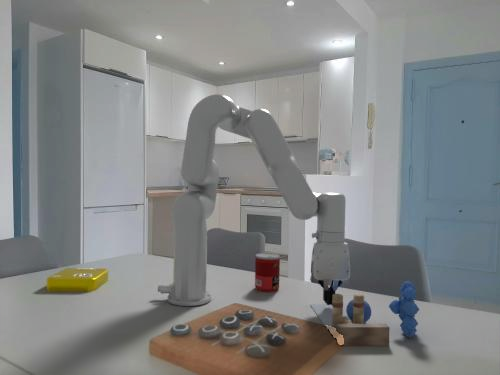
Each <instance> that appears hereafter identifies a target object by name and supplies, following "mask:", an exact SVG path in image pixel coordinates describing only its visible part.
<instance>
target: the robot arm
mask: <svg viewBox="0 0 500 375" xmlns="http://www.w3.org/2000/svg"><path fill="white" fill-rule="evenodd" d="M189 114H190V115H189V118H188V121H187V127H186V128H187V129H186V134H185V135H186V136H185V142H184V148H183V155H182V156H183V157H182V162H181V169H180V174H181V178H182V180H183V182H184V183H185V184H187V191H184V192H181V193H180V194H179V195H178V196H177V197H176V198H175V199H174V202H173V204H172V210H171V213H172V214H171V216H172V224H173V275H172V276H173V280H172V283H170V284H168V285H164V284H158V286H157V292H158V293H160V294H168V295H167V302H168V303H170V304H171V305H175V306H179V307H181V306H182V307H194V306H200V305H205V304H208V303H209V302H211V300H212V295H211V293H209V292H208V291H207V273H208V272H207V268H208V267H207V265H208V264H207V263H208V262H207V261H208V259H207V258H208V229H207V228H208V227H207V219H209V218H210V217H211V216H212V215H213V213H214V211H215V208H216V200H217V193H218V186H219V180H220V178H219V177H220V171H219V170H220V169H219V166H218V164H217V162H216V161H215V160H214V154H215V145H216V132H217V129H218V128H219V129H221V130H223V131H226V132H228V133H231V134H235V135H238V136H240V137H242V138H243V137H244V138H247V139H249V140H251V141H252V144H253V145H254V147H255V149H256V151H257V152H258V154H259V156H260V158H261V160H262V162H263V164H264V166H265V169H267V172H268V174H269V176H271V178H272V180H273V181H274V183H275V185H276V187H277V189H278V191H279V192H280V195H281V197H282V199H283V200H284V202H285V204H286V206H287V208H288V210H289V212H290V214H291V215H292V216H293V217H294V218H296V219H297V220H300V221H307V220H310V219H312V218H313V217H316V218H317V221H316V223H317V224H316V226H317V227H316V231H315V232H312V233H311V238H312V239H315V240H316V241H314V243H313V246H312V251H311V262H310V274H311V275H310V279H309V281H310V282H311V283H313V284H318V285H319V286H320V287H322V289H323V290H322V291H323V293H322V300H323V302H324V303H325V304H327V305H332V300H333V294H336V291H337V290H338V289H339V287H340V286H341V285H344V284H347V283H349V282H350V277H351V261H350V259H351V257H350V249H349V244H348V242H346V241H345V239H346V237H345V236H346V232H345V231H346V230H345V228H346V196H345V195H344V194H343V193H339V192H322V193H320V192H319V193H316V192H313V190H312V188H311V187H310V185H309V184H308V181H307V179H306V177H305V176H304V174H303V172H302V171H301V168H300V167H299V164H298V162H297V159H296V156H295V154H294V152H293V150H292V149H291V147H290V145H289V143H288V142H287V139H286V138H285V136H284V133H283V132H282V130H281V128H280V127H279V125H278V123H277V121H276V119H275V117H274V116H273V114H272V113H271V112H270V111H268V110H267V109H264V108H257V109H254V110H250V109H249V108H246V107H245V108H244V107H242V106H240V105H237V104H236V103H235V102H234V101H233V100H232V99H231V98H230V97H229V96H227V95H224V94H220V93H218V94H210V95H208V96H206V97H204V98H202V99H201V100H200V101H198V102H197V103H196V104H195V106H193V108H192V110H191V113H189ZM329 281H330V284H329Z"/></svg>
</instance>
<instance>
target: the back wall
mask: <svg viewBox="0 0 500 375" xmlns="http://www.w3.org/2000/svg"><path fill="white" fill-rule="evenodd" d="M336 331H337V332H338V333H339V334H341V335H343V338H344V344H343V346H342V347H365V346H366V347H370V346H371V347H374V346H375V347H376V346H377V347H380V346H381V347H384V346H385V347H386V346H387V347H388V346H390V326H389V325H388V324H386V323H364V324H337V328H336Z"/></svg>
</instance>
